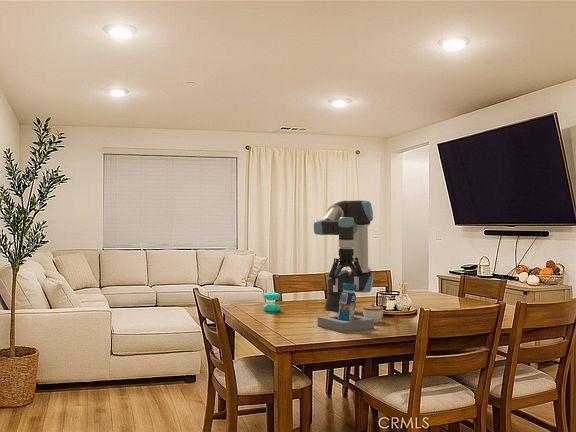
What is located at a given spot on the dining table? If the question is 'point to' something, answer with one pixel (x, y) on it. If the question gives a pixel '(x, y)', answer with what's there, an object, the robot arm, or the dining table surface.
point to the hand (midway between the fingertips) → (345, 290)
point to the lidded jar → (373, 312)
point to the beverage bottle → (347, 302)
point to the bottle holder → (345, 323)
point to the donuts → (271, 306)
